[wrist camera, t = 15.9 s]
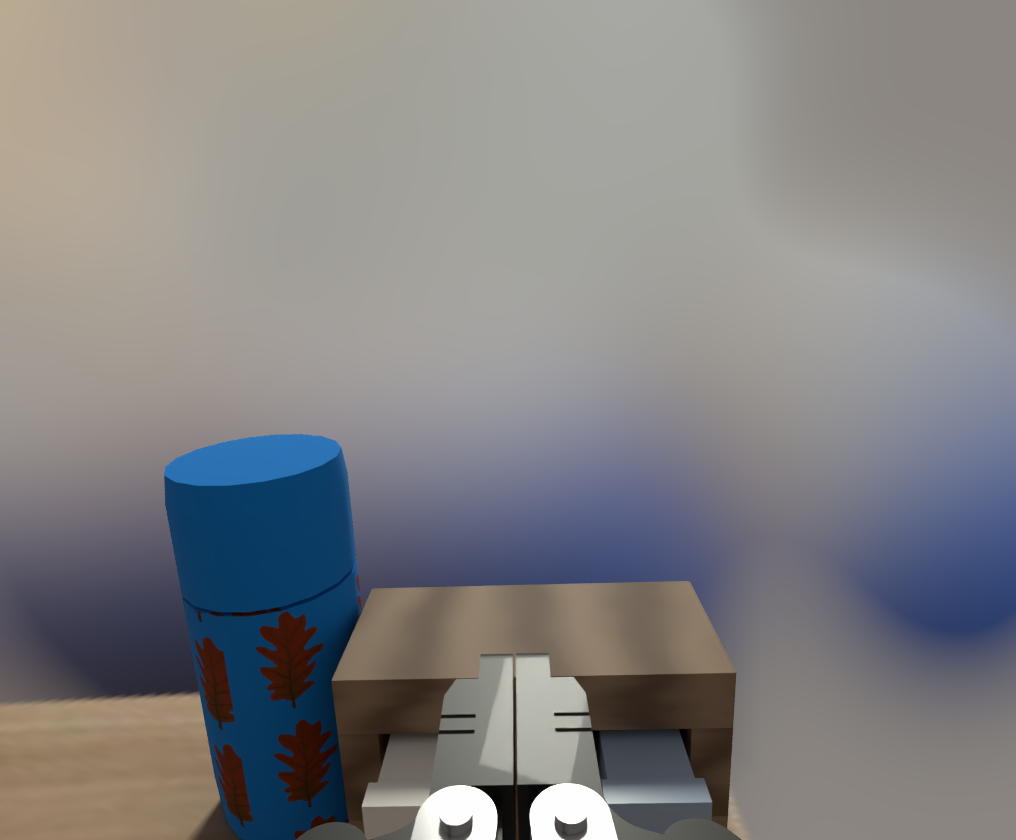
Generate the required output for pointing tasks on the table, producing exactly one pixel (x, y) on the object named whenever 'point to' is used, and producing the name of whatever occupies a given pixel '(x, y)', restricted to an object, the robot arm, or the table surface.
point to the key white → (400, 783)
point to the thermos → (268, 620)
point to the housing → (572, 653)
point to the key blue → (649, 778)
